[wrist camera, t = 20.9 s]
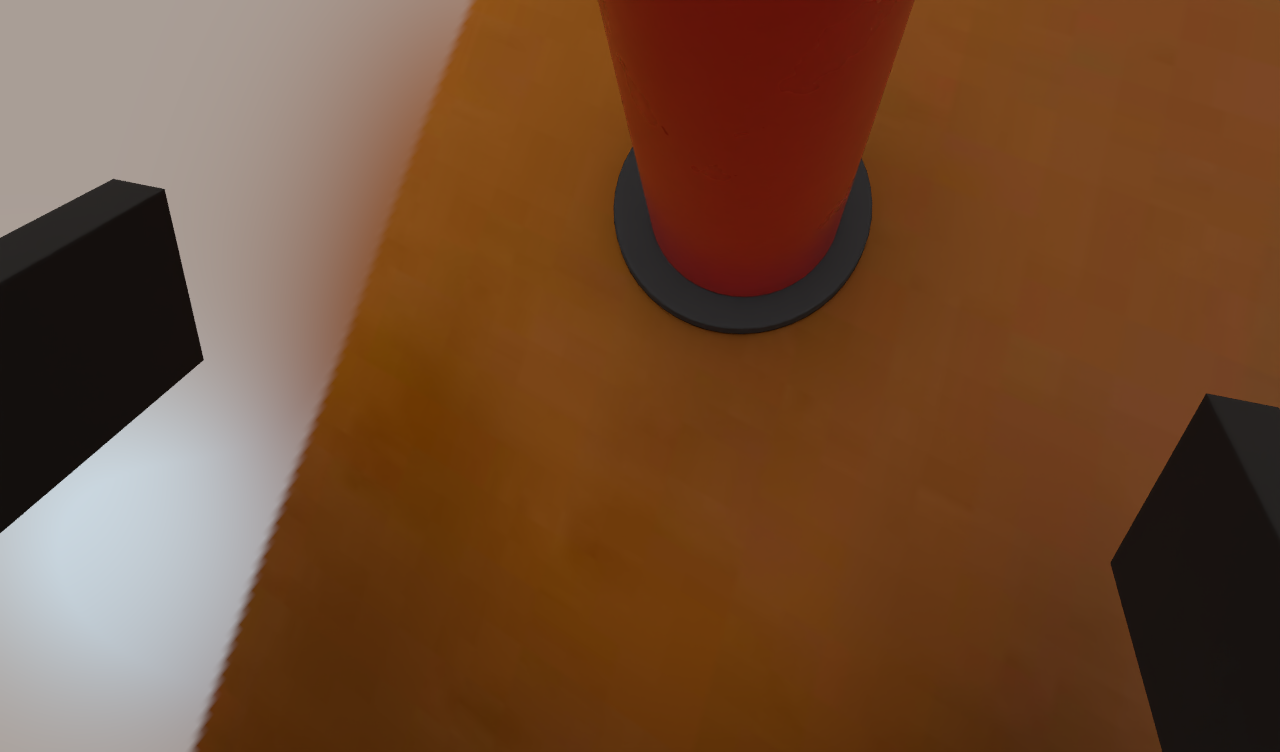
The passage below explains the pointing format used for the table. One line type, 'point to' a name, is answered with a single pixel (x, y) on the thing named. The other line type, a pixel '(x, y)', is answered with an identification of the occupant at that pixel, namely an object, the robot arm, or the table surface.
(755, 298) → the coaster
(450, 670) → the table surface
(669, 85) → the disc
